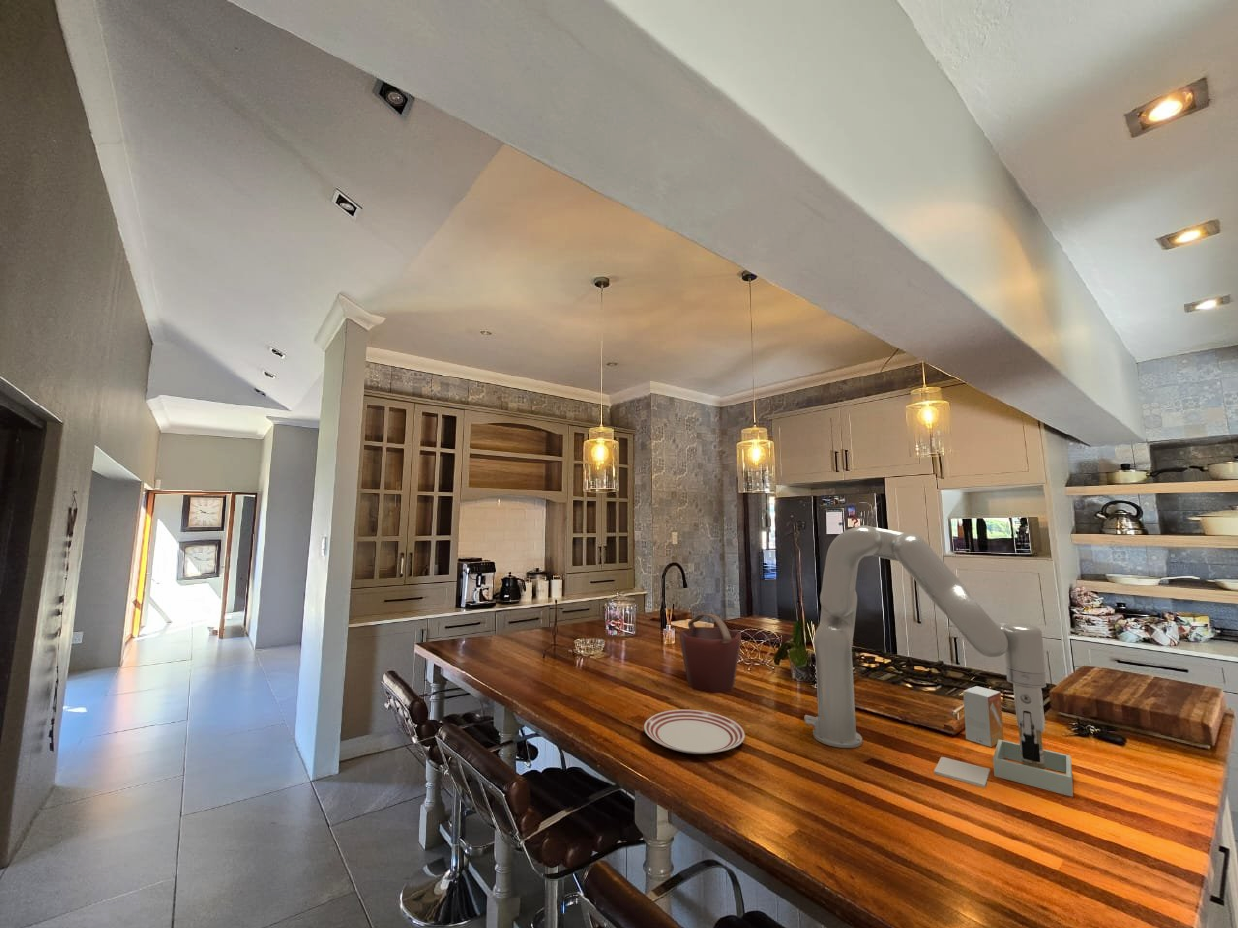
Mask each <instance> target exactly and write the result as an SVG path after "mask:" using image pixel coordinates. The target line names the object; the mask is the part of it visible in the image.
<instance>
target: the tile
mask: <svg viewBox="0 0 1238 928" xmlns="http://www.w3.org/2000/svg"><path fill="white" fill-rule="evenodd" d="M990 773H991V769H990V768H988V767H983V766H980V765H975V764H971V763H969V762H964V761H962V760H961V761H960V760H956V759H953V758H949V757H945V756H941V757H940V758H939V761H938V762H937V764H936V766H935V768H934V770H933V774H934V775H938V776H941V777H944V778H948V779H952V780H956V781H958V782H963V783H966V784H969V785H974V786H976V787H981V788H985V789H986V786H987V782H988V780H989V777H990Z"/></svg>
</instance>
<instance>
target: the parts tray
mask: <svg viewBox="0 0 1238 928" xmlns="http://www.w3.org/2000/svg"><path fill="white" fill-rule="evenodd" d="M1043 756H1044V769H1040V768H1036V767H1032V766H1027V765H1023V764H1022V759H1021V752H1020V743H1017V742H1012V741H1008V740H998V743H997V744H996V747H995V751H994V754H993V756H992V761H993V763H992V764H993V777H996V778H1000V779H1004V780H1008V781H1011V782H1016V783H1019V784H1023V785H1027V786H1029V787H1034V788H1039V789H1042V790H1046V791H1049V792H1053V793H1057V794H1060V795H1065V796H1068V797H1072V798H1073V797H1074V794H1073V792H1074V791H1073V767H1072V766H1073V765H1072V758H1071V756H1072V755H1069V754H1065V753H1061V752H1056V751H1052V750H1047V749H1045V748H1044V749H1043ZM1006 759H1007V760H1006ZM1010 760H1011V761H1010ZM1046 769H1047V770H1046ZM1048 769H1049V770H1048ZM1052 770H1053V771H1052ZM1055 771H1056V772H1055Z"/></svg>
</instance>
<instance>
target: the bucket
mask: <svg viewBox="0 0 1238 928" xmlns="http://www.w3.org/2000/svg"><path fill="white" fill-rule="evenodd" d="M704 617H708V618H709V619H712V620H713V621H714V623H715V624H716V625H717V627H714V626H713V627H712V626H711V627H710V626H709V627H708V626H696V625H695V623H697V622H699V621H700V620H702V619H703V618H704ZM687 626H688V628H686V629H682V630H679V632H678V633H679V635H678V636H679V643H680V648H681V653H682V659H683V665H684V669H685V675H686V680H687V683H688V685H689V686H690V687H691V689H692V690H694V691H699V692H703V693H709V694H717V693H718V694H719V693H727V692H728V693H729V692H732V691H733V689H734V687H735V682H736V676H737V669H738V662H739V657H740V651H741V644H742V632H741V631H736V630H733V629H729V628H728V626H727V625H726V623H725V622H724V621H723V620H722V619H721V618H720V616H718V615H716V614H713V613H699V614H698V613H697V614H696V615H695V616H694V617H693V618H691V620H689V621H688V624H687Z"/></svg>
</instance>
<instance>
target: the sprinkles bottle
mask: <svg viewBox="0 0 1238 928" xmlns="http://www.w3.org/2000/svg"><path fill="white" fill-rule="evenodd" d="M1021 728H1022V727H1021ZM1021 728H1020V727H1019V726H1018V730H1019V731H1018V733H1019V735H1018V737H1019V738H1018V739H1019V740H1018V741H1019V744H1020V752H1021V759H1022V762H1021V764H1023V765H1027V766H1032V767H1036V768H1040V769H1044V770H1045V768H1044V756H1043V748H1044V747H1043V741H1042V732H1040V731H1038V730H1037V744H1039V752H1040V762H1036V761H1031V760H1027V759H1024V758H1023V755H1022V741H1021V740H1022V729H1021ZM1031 729H1034V727H1032V726H1031ZM1032 734H1033V735H1034V732H1032Z"/></svg>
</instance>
